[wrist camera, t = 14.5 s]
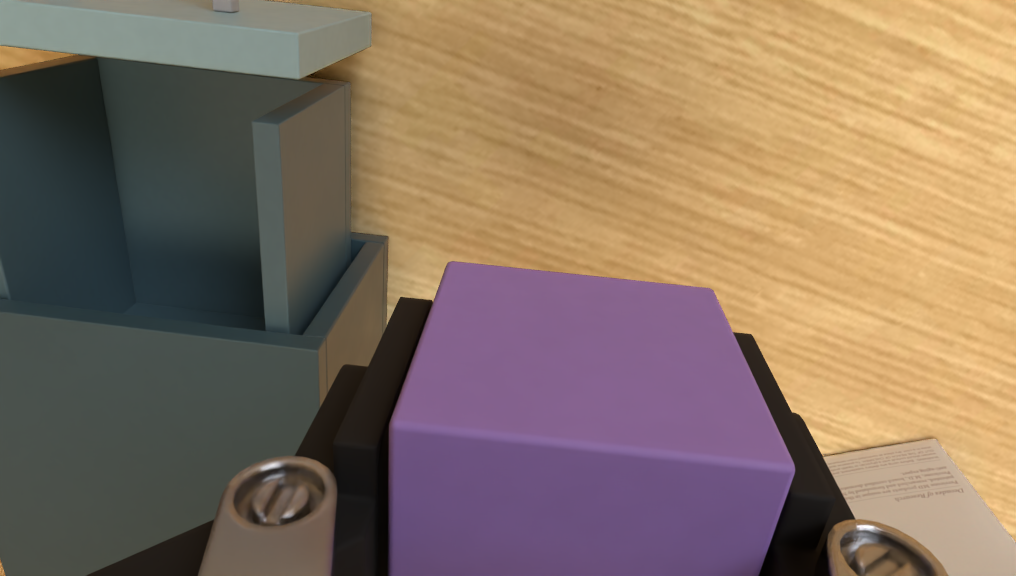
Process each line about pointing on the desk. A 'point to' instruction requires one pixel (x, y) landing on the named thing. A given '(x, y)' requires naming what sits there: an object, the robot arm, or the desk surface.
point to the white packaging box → (926, 505)
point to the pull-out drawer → (177, 158)
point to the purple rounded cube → (580, 433)
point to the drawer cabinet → (156, 416)
